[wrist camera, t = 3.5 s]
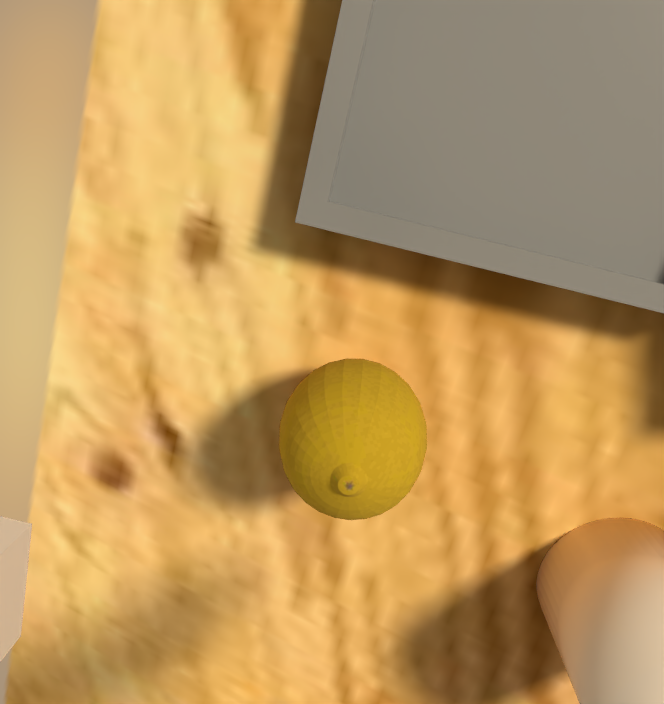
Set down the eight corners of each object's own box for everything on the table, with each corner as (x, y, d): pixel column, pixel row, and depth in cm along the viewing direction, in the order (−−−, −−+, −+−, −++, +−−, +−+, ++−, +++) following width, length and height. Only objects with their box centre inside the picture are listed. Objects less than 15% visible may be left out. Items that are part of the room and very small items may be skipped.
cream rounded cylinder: (565, 501, 26) (644, 630, 19) (714, 538, 26) (853, 682, 19) (516, 624, 28) (570, 785, 21) (654, 658, 28) (759, 832, 21)
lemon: (389, 471, 27) (395, 586, 19) (276, 427, 26) (237, 525, 19) (439, 365, 25) (468, 443, 17) (320, 318, 25) (296, 375, 17)
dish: (406, -260, 19) (410, -322, 17) (873, -146, 19) (941, -191, 17) (302, 218, 24) (295, 222, 21) (680, 312, 24) (714, 325, 21)
